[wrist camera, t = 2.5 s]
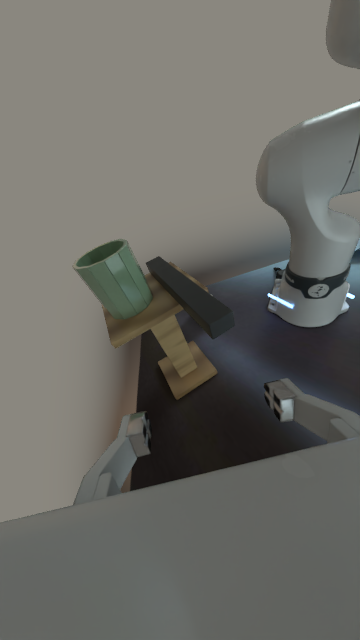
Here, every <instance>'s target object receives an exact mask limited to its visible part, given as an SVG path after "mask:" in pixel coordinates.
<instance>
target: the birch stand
mask: <svg viewBox="0 0 360 640" xmlns="http://www.w3.org/2000/svg"><path fill="white" fill-rule="evenodd" d="M169 264H170V265H171V266H173V267H174V268H175V269H177V270H178V271H180V272H181V273H182V274H184V275H185V276H186V277H188V278H189V279H190V280H192V281H193V282H194V283H196V284H197V285H198V286H200V287H201V288H202V289H204V290H205V291H206V292H208V288H207V287H205V286H204V285H202V284H201V283H200V282H198V281H197V280H195V279H194V278H193V277H191V276H190V275H188V274H187V273H185V272H184V271H183V270H181V269H180V268H178V267H177V266H176V265H174V264H173V263H171V262H170V263H169ZM145 278H146V280H147V282H148V284H149V286H150V288H151V290H152V293H153V299H152V301H151V302H150V304H149V306H148V307H147V308H145V309H144V310H143V311H142V312H140V313H139V314H137V315H135V316H133V317H130V318H127V319H114V318H113V317H112V316H111V315H110V314H109V313H108V311H107V310H106V309H105V308H104V306H103V305H102V308H103V311H104V316H105V320H106V324H107V328H108V333H109V337H110V341H111V344H112V345H113V346H114V347H115V348H117V347H119V346H121V345H122V344H125V343H126V342H128V341H130V340H131V339H133V338H135V337H137V336H138V335H140V334H142V333H143V332H145V331H147V330H149V329H150V328H151V330H152V332H153V333H154V335H155V337H156V338H157V340H158V341H159V343H160V345H161V346H162V348H163V350H164V351H165V353H166V354H167V357H165V358H164V359H162V360H161V361H159V362H158V364H159V366H160V368H161V370H162V372H163V374H164V376H165V378H166V380H167V382H168V384H169V386H170V388H171V390H172V392H173V394H174V396H175V398H176V399H177V400H178V399H180V398H181V397H183V396H184V395H186V394H187V393H189V392H190V391H192V390H193V389H195V388H196V387H198V386H199V385H201V384H202V383H204V382H205V381H207V380H208V379H210V378H211V377H213V376H214V375H216V374H217V370H216V369H215V367H214V366H213V365H212V364H211V363H210V361H209V360H208V359H207V358H206V356H205V355H204V354H203V353H202V351H201V350H200V349H199V348H198V346H197V345H196V344H195V343H194V341H191V342H190V343H188V344H187V342H186V340H185V338H184V336H183V333H182V331H181V329H180V327H179V324H178V322H177V320H176V317H175V315H174V314H176V313H178V312H179V311H181V310H183V309H184V308H183V307H182V306H181V305H180V304H179V303H178V302H177V301H176V300H175V299H174V298H173V297H172V296H171V295H170V294H169V293H168V292H167V290H166V289H165V288H164V287H163V286H162V285H161V284H160V283H159V282H158V281H157V280H156V279H155V278H154V277H153V276H152V275H151V274H150V273H149V274H147V275H145ZM208 293H209V292H208Z"/></svg>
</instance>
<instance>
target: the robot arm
mask: <svg viewBox="0 0 360 640" xmlns="http://www.w3.org/2000/svg"><path fill="white" fill-rule="evenodd" d="M326 45H327V49H328V52H329V54H330V56H331V57H332V59H333V60H335V61H336V62H337V63H339V64H341V65H344V66H348V67H351V68H357V69H360V0H331V4H330V10H329V16H328V22H327V28H326ZM256 185H257V190H258V193H259V195H260V197H261V199H262V200H263V201H264V202H265V203H266V204H267V205H269V206H271V207H273V208H274V209H276V210H277V211H278V212H279V213H280V214H281V215H282V216H283V217H284V219H285V220H286V222H287V224H288V226H289V229H290V234H291V251H290V259H289V262H288V264H287V266H286V269H284V270H281V269H280V268H276V267H275V268H274V270H275V271H277V270H278V271H277V274H276V279H275V285H274V288H273V291H272V295H271V294H268V296H269V297H271V298H270V302H269V305H268V310H269V311H270V312H272V313H275V314H277V315H279V316H280V317H281V318H282V319H283V320H285V321H287V322H289V323H291V324H294V325H297V326H302V327H319V326H323V325H326V324H329V323H331V322H332V321H333V320H335V318H336V317H337V316H338V315H339V314H341V313H344V312H346V311H347V310H348V309H349V305H348V304H347V303H346V302H345V299H346V297H350V298H352V299H353V298H354V297H355V296H354V295H351V294H349V293H348V291H349V287H350V284H348V282H347V281H346V278H347V277H348V274H349V271H350V266H351V265H350V261H351V258H352V256H353V253H354V251H355V248H356V246H357V243H358V241H359V238H360V224H359V222H358V221H357V220H356V219H355V218H354V217H352V216H350V215H347V214H345V213H341V212H338V211H334V210H332V209H330V208H328V206H329V202H330V199H331V198H333V197H335V196H338V195H342V194H347V193H352V192H356V191H360V100H359V101H357V102H354V103H351V104H349V105H346V106H343V107H341V108H338V109H336V110H332V111H330V112H327V113H325V114H322V115H319V116H316V117H314V118H311V119H308V120H306V121H303V122H301V123H299V124H297V125H296V126H294V127H292V128H291V129H289V130H287V131H285V132H284V133H282V134H281V135H279V136H277V137H276V138H274V139H273V140H271V141H270V142H269V144H268V145H267V147H266V148H265V150H264V152H263V154H262V156H261V158H260V161H259V164H258V168H257V174H256ZM264 388H265V390H266V392H265V393H264V395H265V400H266V402H267V404H268V406H269V407H270V408H271V409H273V410H274V414H275V415H276V417H277V418H278V419H279V421H280V422H286V421H291V420H294V421H296V422H297V423H299V424H301V425H302V426H304V427H305V428H307V429H309V430H310V431H312V432H313V433H315V434H317V435H318V436H320V437H321V438H323V439H324V440H326V441H328V443H327V444H324V445H320V446H316V447H312V448H308V449H303V450H299V451H295V452H291V453H287V454H283V455H279V456H275V457H271V458H266V459H262V460H258V461H254V462H250V463H246V464H242V465H238V466H233V467H229V468H225V469H221V470H217V471H213V472H209V473H204V474H200V475H196V476H192V477H188V478H184V479H180V480H175V481H171V482H167V483H163V484H159V485H155V486H151V487H147V488H142V489H138V490H134V491H130V492H126V493H121V491H120V488H121V487H122V485H123V483H124V481H125V479H126V477H127V475H128V474H129V472H130V470H131V468H132V466H133V465H134V463H135V461H136V459H137V457H140V456H144V455H147V454H150V451H151V441H150V438H151V436H152V427H151V422H150V420H149V419H148V414H147V411H143V412H138V413H134V414H130V415H125V416H123V418H122V421H121V425H120V429H119V433H118V436H117V439H115V440H114V441H113V442H112V443H111V445H110V446H109V447H108V448H107V449H106V451H105V452H104V453H103V454H102V456H101V457H100V458H99V459H98V460H97V462H96V463H95V464H94V465H93V466H92V468H91V469H90V470H89V471H88V473H87V474H86V475H85V476H84V477H83V480H82V482H81V485H80V488H79V490H78V493H77V496H76V498H75V501H74V504H73V505H72V506H68V507H64V508H60V509H56V510H52V511H47V512H43V513H39V514H35V515H31V516H27V517H23V518H19V519H14V520H9V521H5V522H2V523H0V640H360V416H359V415H357V414H356V413H354V412H352V411H349V410H347V409H344V408H341V407H339V406H336V405H334V404H331V403H329V402H326V401H324V400H321V399H318V398H316V397H313V396H311V395H308V394H307V395H305V394H304V393H303V392H302V391H301V390H300V389H299V388H298V387H297V386H295V385H294V384H293V383H292V382H291V381H290V380H289V379H288V378H284V379H280V380H276V381H272V382H268V383H265V384H264Z"/></svg>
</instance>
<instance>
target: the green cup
mask: <svg viewBox="0 0 360 640" xmlns="http://www.w3.org/2000/svg"><path fill="white" fill-rule="evenodd" d="M72 267H73V268H74V270H75V271H76V272H77V273H78V275H79V276H80V277H81V279H82V280H83V281H84V282H85V284H86V285H87V286H88V287H89V289H90V290H91V291H92V292H93V294H94V295H95V296H96V297H97V299H98V300H99V301H100V302H101V304H102V305H103V306H104V308H105V309H106V310H107V311H108V313H109V314H110V315H111V316H112V317H113V318H114V319H127V318H130V317H133V316H135V315H137V314H139V313H140V312H142V311H143V310H144V309H145V308H147V307H148V306H149V304H150V302H151V301H152V299H153V293H152V290H151V288H150V286H149V284H148V282H147V280H146V278H145V276H144V274H143V272H142V270H141V268H140V266H139V264H138V262H137V260H136V258H135V256H134V254H133V252H132V250H131V248H130V246H129V244H128V242H127V240H123V239H119V240H114V241H110V242H107V243H105V244H102V245H100V246H98V247H96V248H94V249H92V250H90V251H88V252H87V253H85V254H84V255H83V256H81V257H80V258H79V259H77V260H76V261H75V263H74V265H73V266H72Z"/></svg>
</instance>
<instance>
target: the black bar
mask: <svg viewBox="0 0 360 640" xmlns="http://www.w3.org/2000/svg"><path fill="white" fill-rule="evenodd" d="M146 265H147V267H148V269H149V271H150V274H151V275H152V276H153V277H154V278H155V279H156V280H157V281H158V282H159V283H160V284H161V285H162V286H163V287H164V288H165V289H166V290H167V292H168V293H169V294H170V295H171V296H172V297H173V298H174V299H175V300H176V301H177V302H178V303H179V304H180V305H181V306H182V307H183V308H184V310H185V311H186V312H187V313H188V314H189V315H190V316H191V317H192V318H193V319H194V320H195V321H196V322H197V323H198V324H199V325H200V326H201V328H202V329H203V330H204V331H205V332H206V333H207V334H208V335H209V336H210V337H211V338H212V339H215V338H216V337H218V336H220V335H221V334H223V333H224V332H226V331H227V330H229V329H231V328H232V327H234V317H233V311H232V310H231V309H229V308H228V307H227V306H225V305H224V304H223V303H221V302H220V301H219V300H217V299H216V298H215V297H213V296H212V295H211V294H209V293H208V292H206V291H205V290H204V289H202V288H201V287H200V286H198V285H197V284H196V283H194V282H193V281H192V280H190V279H189V278H188V277H186V276H185V275H184V274H182V273H181V272H180V271H178V270H177V269H175V268H174V267H173V266H171V265H170V264H169V263H167V262H166V261H164V260H163V259H162V258H161V257H156V258H155V259H153V260H151V261H149V262H147V263H146Z"/></svg>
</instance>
